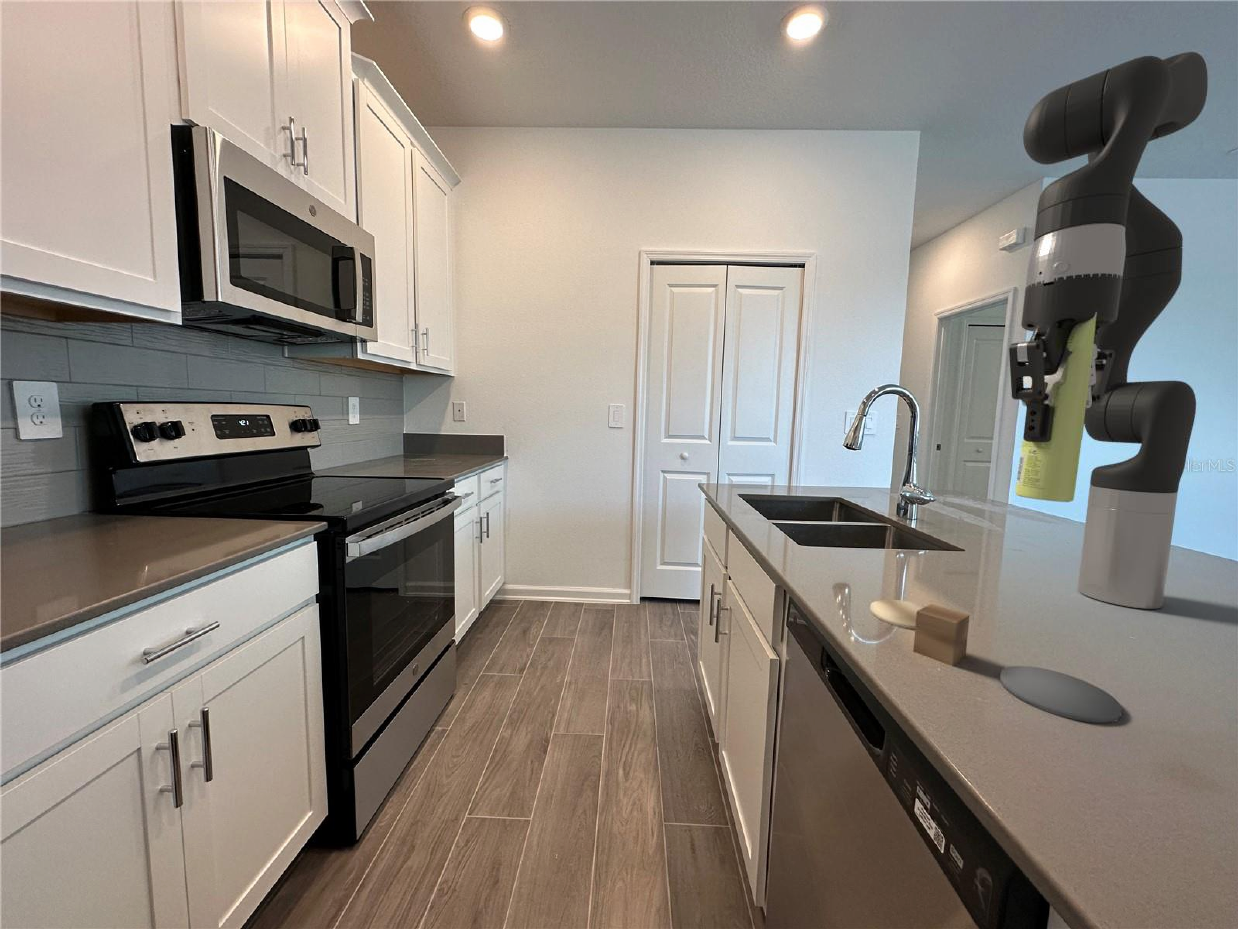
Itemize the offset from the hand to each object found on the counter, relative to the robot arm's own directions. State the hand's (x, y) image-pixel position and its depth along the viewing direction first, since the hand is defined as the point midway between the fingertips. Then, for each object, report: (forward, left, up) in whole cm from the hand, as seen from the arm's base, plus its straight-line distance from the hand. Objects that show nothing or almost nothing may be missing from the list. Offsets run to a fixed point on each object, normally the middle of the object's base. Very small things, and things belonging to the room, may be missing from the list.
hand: (1052, 441), depth 53 cm
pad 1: (+2, -14, -25) cm, 29 cm away
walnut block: (+8, -5, -25) cm, 27 cm away
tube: (0, 0, -7) cm, 7 cm away
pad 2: (+5, +5, -25) cm, 26 cm away
